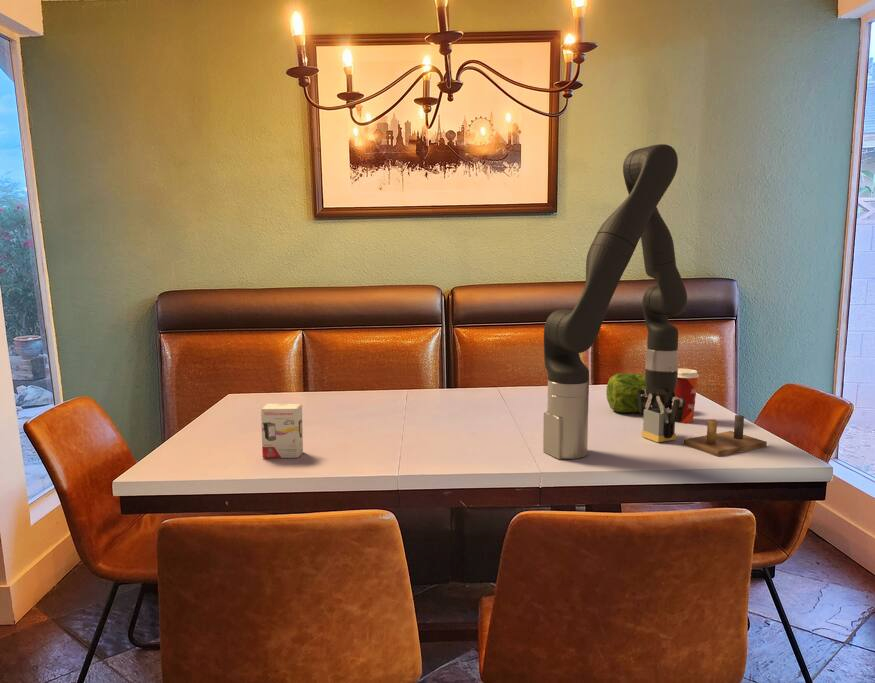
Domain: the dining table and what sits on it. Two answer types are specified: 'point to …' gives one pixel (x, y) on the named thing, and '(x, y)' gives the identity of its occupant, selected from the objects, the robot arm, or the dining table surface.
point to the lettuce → (625, 392)
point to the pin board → (725, 439)
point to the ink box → (282, 430)
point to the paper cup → (687, 392)
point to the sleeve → (655, 425)
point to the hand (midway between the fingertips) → (658, 433)
